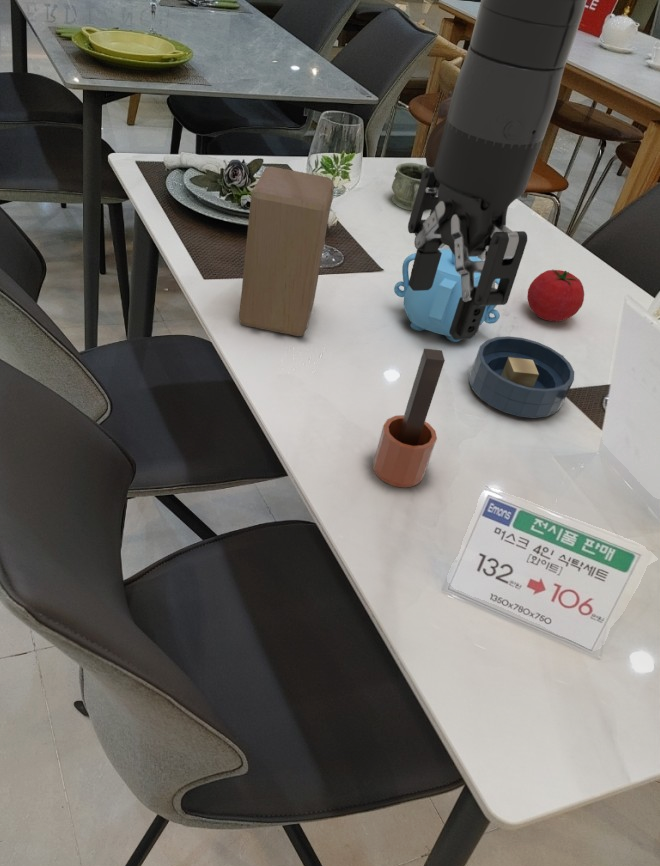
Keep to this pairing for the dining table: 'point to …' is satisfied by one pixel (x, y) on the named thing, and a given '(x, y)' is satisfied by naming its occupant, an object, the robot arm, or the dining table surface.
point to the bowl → (515, 397)
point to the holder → (402, 455)
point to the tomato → (555, 295)
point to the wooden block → (284, 249)
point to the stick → (421, 396)
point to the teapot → (438, 297)
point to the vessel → (407, 184)
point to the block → (520, 371)
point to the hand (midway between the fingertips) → (439, 311)
